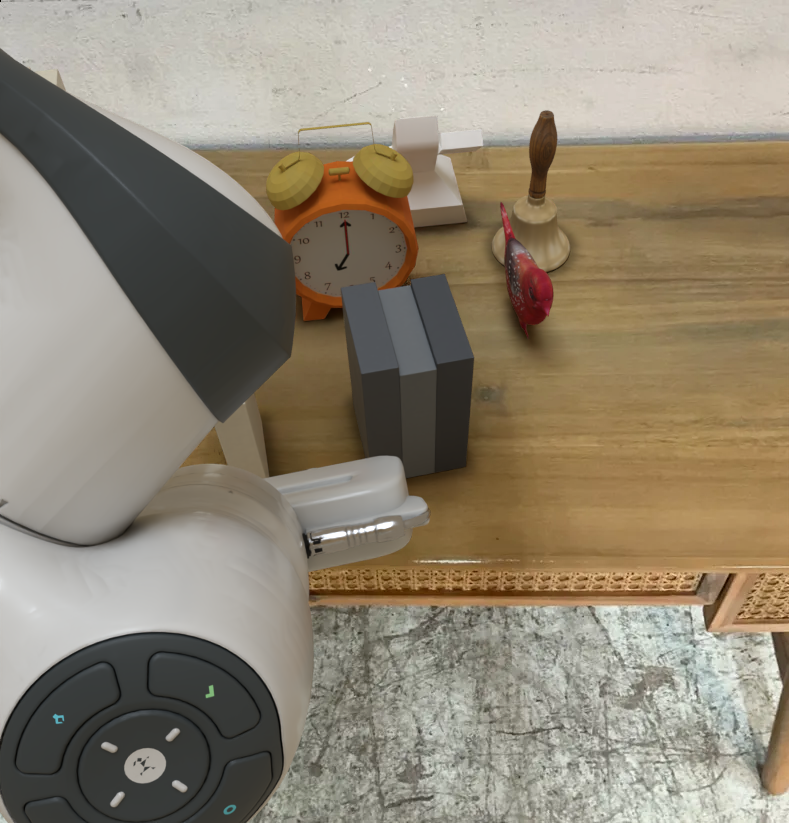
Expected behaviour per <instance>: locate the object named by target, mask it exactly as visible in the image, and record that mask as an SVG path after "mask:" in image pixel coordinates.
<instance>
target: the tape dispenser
mask: <svg viewBox="0 0 789 823" xmlns="http://www.w3.org/2000/svg"><path fill="white" fill-rule="evenodd" d="M438 116H439V115H413V116H406V117H401V118H396V119H394V123H393V128H392V138H391V145H389V146H388V147H390V148H392V149H394V150H395V151H397V152H398V153H400V154H401V155H402V156H403V157H404V158H405V159H406V160H407V161H408V163H409V164H410V166H411V168H412V171H413V176H414V182H413V185H412V189H411V191H410V193H409V194H408V196H407V197H408V202H409V206H410V211H411V215H412V220H413V225H414V228H422V227H434V226H442V225H443V226H444V225H452V224H462V223H463V224H464V223H468V219H467V218H468V217H467V214H466V211H465V208H464V207H465V206H464V203H463V200H462V196H461V192H460V188H459V185H458V180H457V178H456V173H455V170H454V166H453V162H452V159H451V157H449V156H447V155H451V154H462V153H472V152H473V153H474V152H477V151H478V150H481V149H482V147H484V139H483V138H484V137H483V130H482V128H476V129H475V128H474V129H464V130H453V131H442V132H439V118H438ZM353 158H354V156H352V157H350V158H348V159H346V161H350V162H353Z"/></svg>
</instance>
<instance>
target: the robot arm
mask: <svg viewBox="0 0 789 823" xmlns="http://www.w3.org/2000/svg"><path fill="white" fill-rule="evenodd" d="M27 67H28V66H26V65H24V64H22V63H21V62H19V61H18V60H16V59H15V58H13V57H12V56H11V54H9V53H8V52H6V51H5V50H3V49H2V48H1V47H0V815H1V816H2V818H3V819H4V820H5V821H6V823H249V822H250V821H251V820H253V819H254V818H255V817H256V816H257V815H258V814H259V813H260V812H261V811H262V809H264V807H265V806H266V805H267V804H268V803H269V802H270V800H271V799H272V797H273V796H274V794H275V793H276V792H277V791H278V789H279V788H280V786H281V785H282V783H283V781H284V779H285V777H286V775H287V774H288V772H289V770H290V767H291V765H292V763H293V761H294V758H295V755H296V753H297V750H298V749H299V745H300V743H301V740H302V736H303V734H304V730H305V725H306V722H307V718H308V712H309V708H310V704H311V698H312V690H313V681H314V666H315V665H314V662H315V648H314V646H315V645H314V628H313V618H312V611H311V606H310V603H309V601H310V575H309V573H311V572H315V571H320V570H325V569H331V568H335V567H339V566H344V565H350V564H353V563H359V562H364V561H368V560H373V559H376V558H380V557H384V556H388V555H391V554H393V553H396V552H398V551H400V550H401V549H403V548H405V547H406V546H407V545H408V544H409V543H410V541H411V540H412V537H413V532H414V528H419V527H424V526H427V525H429V523H430V521H431V516H432V515H431V514H432V511H431V508H429V506H428V504H427V502H426V501H425V500H424V498H423V497H421V496H418V495H410V493H409V487H408V483H407V478H406V477H405V472H404V467H403V464H402V461H401V460H400V458H398V457H396V456H376V457H371V458H366V459H365V458H362V459H357V460H351V461H347V462H342V463H336V464H335V463H334V464H331V465H325V466H321V467H312V468H311V467H310V468H307V469H302V470H296V471H291V472H289V473H285V474H279V475H273V476H269V478H264V479H262V478H261V477H259V476H257V475H255V474H253V473H251V472H248V471H246V470H243V469H240V468H237V467H233V466H228V465H227V464H222V463H221V464H220V463H199V464H191V465H186V466H182V465H183V464H184V463H185V462H186V460H187V459H188V458H189V457H190V456H191V454H192V453H193V452H194V451H195V450H196V449H197V447H198V446H199V445H200V444H201V443H202V441H204V440H205V438H206V437H207V436H208V434H209V433H210V432H212V430H213V429H214V428H215V427H214V426H215V425H216V424H217V423H218V421H220V422H222V423H224V422H225V421H226V420H227V419H228V418H229V417H230V416H231V415H232V414H233V413H234V412H235V411H236V410H237V409H238V408H239V407H240V406H241V405H242V404H243V403H244V402H245V401H246V400H247V399H248V398H249V397H250V396H251V395H252V394H253V393H254V394H255V393H256V392H257V391H258V390H259V389H260V388H261V387H262V386H263V385H264V384H265V383H266V382H267V381H268V380H269V379H270V378H271V377H272V376H273V375H274V374H275V373H276V372H277V371H278V370H279V369H280V368H281V367H282V366H283V365H285V363H287V361H288V360H289V359H290V358H291V357H292V353H293V345H294V337H295V327H296V316H297V315H296V314H297V313H296V310H297V294H296V282H295V268H294V259H293V252H292V246H291V245H290V244H289V243H288V242H286V241H285V240H284V239H283V238H282V235H281V233H280V231H279V230H278V228H277V226H276V225H275V223H274V221H273V220H274V219H273V218H271V217H270V215H269V214H268V212H267V211H266V209H264V207H263V206H262V205H261V204H260V203H259V202H258V201H257V199H256V198H255V197H254V196H253V195H251V193H250V192H248V191H247V190H246V189H245V188H244V187H243V186H242V185H241V184H240V183H239V182H237V181H236V180H235V179H234V178H233V177H232V176H230V175H229V174H228V173H227V172H225V171H224V170H222V169H221V168H220V167H218V166H217V165H216V164H214V163H212V161H210V160H209V159H206V158H205V157H204V156H202V155H200V154H199V153H197V152H195V151H194V150H192V149H191V148H188V147H187V146H185V145H183V144H182V143H179V142H178V141H176V140H174V139H172V138H170V137H168V136H166V135H164V134H162V133H160V132H159V131H156V130H153V129H151V128H150V127H147V126H145V125H143V124H140V123H138V122H136V121H133V120H131V119H129V118H127V117H124V116H122V115H120V114H117V113H115V112H113V111H111V110H108V109H106V108H103V107H102V106H99V105H96V104H94V103H92V102H91V101H88V100H86V99H84V98H82V97H79V96H77V95H75V94H73V93H71V92H68V91H67V90H66V91H65V90H63V89H61V88H59V87H58V86H56V85H54V84H53V83H51V82H50V81H48V80H46V79H45V78H43V77H42V76H40V75H38V74H37V73H35V72H36V71H34V70H32V69H31V70H30V69H29V68H27Z"/></svg>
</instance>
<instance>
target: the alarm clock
mask: <svg viewBox="0 0 789 823" xmlns="http://www.w3.org/2000/svg"><path fill="white" fill-rule="evenodd" d="M366 125H368V126H370V127H371V128H370V129H373V126H372V123H371V122H370V121H362V122H353V123H343V124H333V125H322V126H314V127H313V126H312V127H304V128H303V127H302V128H299V129H298V131H297V139H298V144H300V138H299V137H300V135H299V134H300V132H304V131H305V132H306V131H316V130H325V129H327V130H328V129H337V128H346V127H355V126H356V127H357V126H366ZM373 133H374V131H373V130H371V134H372V135H371V136H372V137H374V134H373ZM374 139H375V138H372V142H373V143H372V144H369V145H366V146H363V147H362V148H361V149H360V150H359V151H357V153H355V155H353V157H354V158H353V162H350V161H347V160H345V161H344V160H336V161H331V162H328V163H323V161H322V160H321V159H319V158H318V157H317V156H315V155H314V154H312V153H311V152H307V151H306V152H305V151H300V149H298V151H295V152H291V153H289V154H287V155H286V156H284V157H283V158H281V159H280V160H279V161H278V162H276V164H275V165H274V166H273V167H272V169H271V170H270V171H269V173H268V176H267V178H266V182H265V192H266V197H267V199H268V201H269V202H270V204H271V206H273V207H274V218H273V220H274V221H273V222H274V223H275V225H276V226H277V228H278V230H279V231H280V233H281V235H282V238H283V239H284V240H285V241H286V242H288V243H289V244H290V245H291V246H292V252H293V259H294V268H295V282H296V296H299V297H301V305H302V318H303V322H307V321H317V320H325V319H326V317H327V315H328V314H329V312H330V311H331V309H343V306H342V297H341V287H347V286H354V285H360V284H366V283H372V282H375V283H376V286H377V289H378V290H384V289H390V288H396V287H402V286H404V284H405V283H406V281H407V280H408V278H409V277H410V275H411V273H412V272H413V270H414V269H415V266H416V265H417V264H416V263H417V259H418V253H419V244H418V239H417V234H416V230H415V227H414V225H413V220H412V215H411V211H410V206H409V202H408V197H407V196H408V194H409V193H410V191H411V189H412V185H413V182H414V176H413V171H412V168H411V166H410V164H409V163H408V161H407V160H406V159H405V158H404V157H403V156H402V155H401V154H400V153H398V152H397V151H395V150H394V149H392V148H390V147H389V146H387V145H384V144H381V143H375V140H374Z"/></svg>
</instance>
